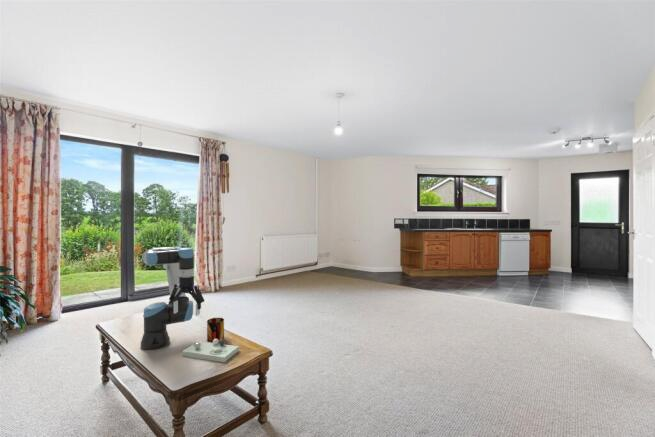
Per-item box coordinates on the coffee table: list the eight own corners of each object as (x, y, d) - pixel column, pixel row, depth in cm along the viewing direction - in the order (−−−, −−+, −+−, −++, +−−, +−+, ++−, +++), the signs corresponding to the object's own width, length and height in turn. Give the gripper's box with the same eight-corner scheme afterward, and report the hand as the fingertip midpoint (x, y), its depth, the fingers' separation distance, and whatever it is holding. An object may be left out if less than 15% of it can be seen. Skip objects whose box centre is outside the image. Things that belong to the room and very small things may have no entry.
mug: (214, 346, 187) (214, 326, 186) (204, 339, 197) (204, 320, 197) (230, 342, 193) (229, 322, 193) (219, 335, 204) (219, 316, 203)
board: (182, 355, 175) (181, 351, 175) (198, 345, 189) (198, 340, 189) (224, 362, 168) (224, 357, 168) (238, 350, 182) (238, 346, 182)
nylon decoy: (211, 340, 183) (216, 339, 182) (214, 338, 186) (219, 337, 185) (212, 345, 183) (217, 345, 182) (215, 343, 186) (220, 343, 185)
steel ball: (193, 349, 177) (193, 343, 177) (197, 347, 180) (196, 341, 180) (198, 350, 176) (198, 344, 176) (201, 347, 180) (201, 342, 179)
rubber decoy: (218, 346, 182) (218, 340, 182) (221, 343, 185) (221, 338, 185) (223, 346, 181) (223, 341, 181) (226, 344, 184) (226, 339, 184)
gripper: (161, 276, 179) (162, 314, 180) (203, 279, 174) (203, 318, 175) (171, 273, 186) (171, 309, 187) (210, 276, 181) (210, 313, 182)
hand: (186, 313), depth 181 cm, fingers open, 13 cm apart
